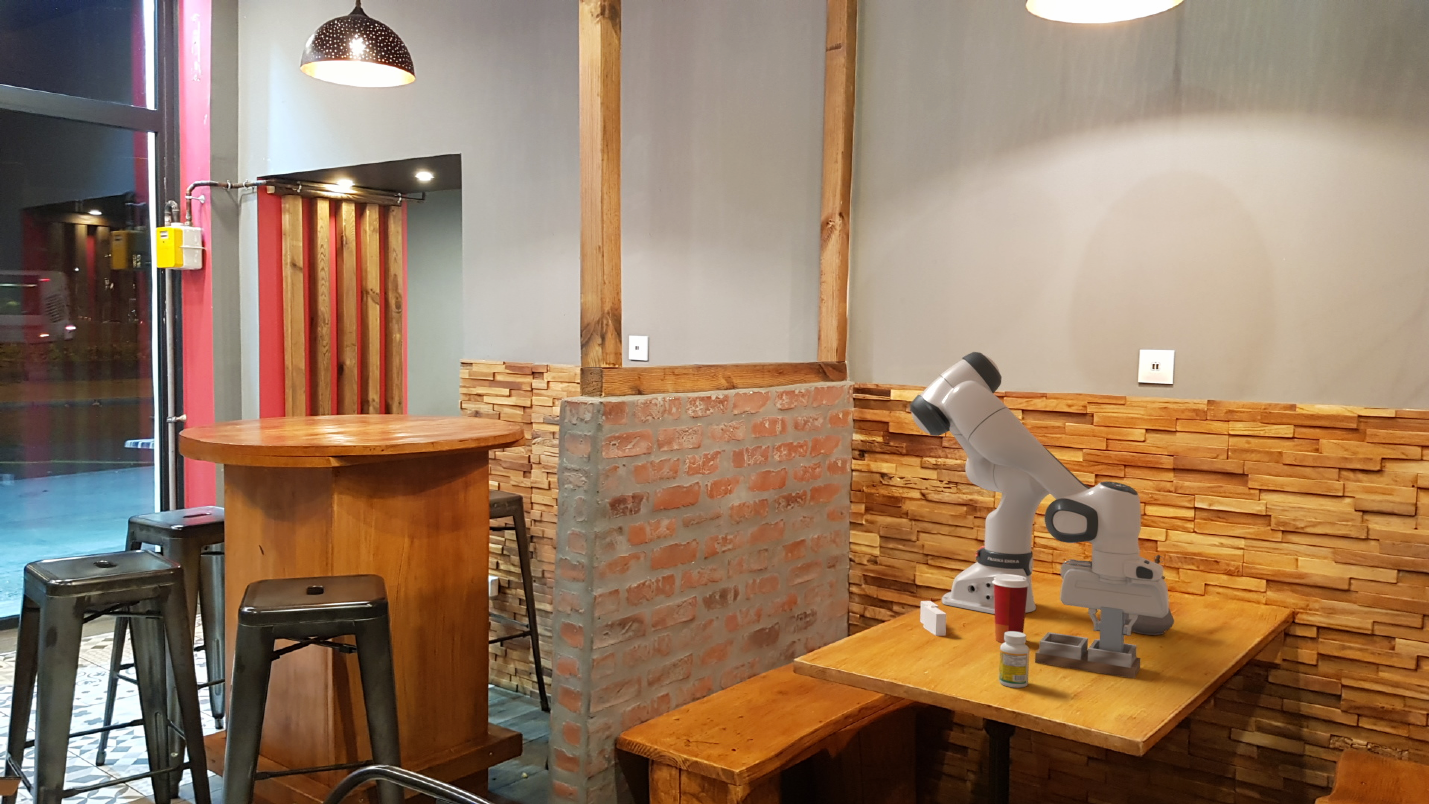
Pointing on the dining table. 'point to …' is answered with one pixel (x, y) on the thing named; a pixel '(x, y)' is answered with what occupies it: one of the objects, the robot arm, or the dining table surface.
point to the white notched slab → (933, 618)
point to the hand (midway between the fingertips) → (1112, 632)
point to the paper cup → (1009, 604)
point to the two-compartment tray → (1087, 655)
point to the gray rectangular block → (1111, 629)
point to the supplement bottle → (1014, 660)
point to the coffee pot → (1151, 619)
